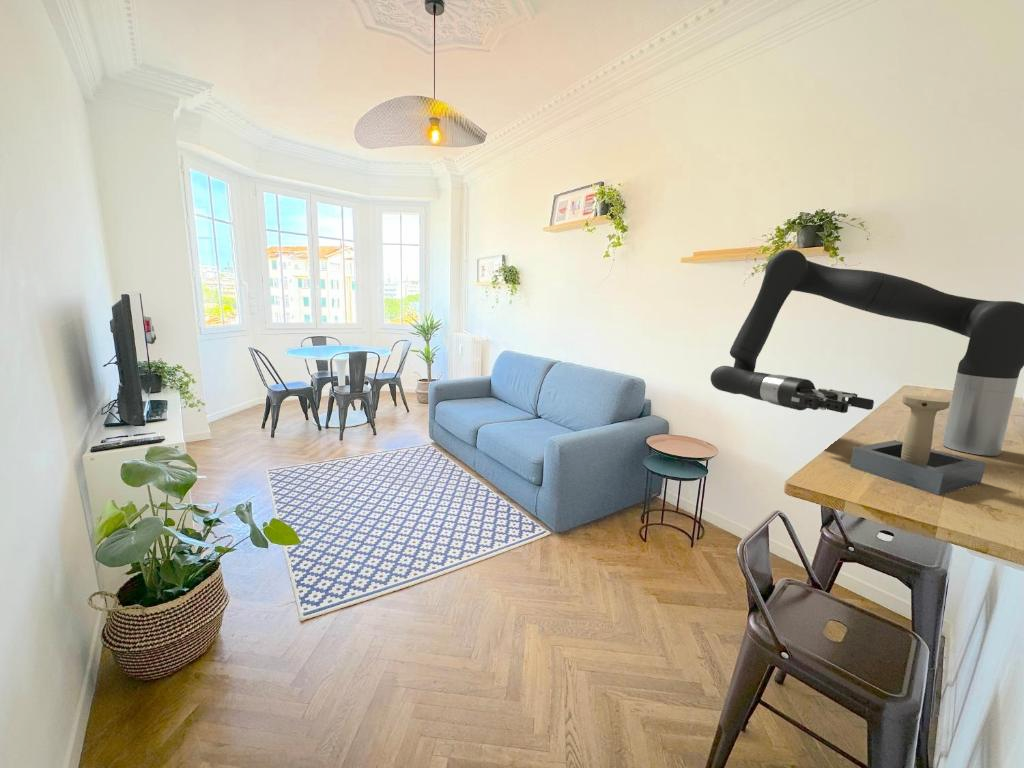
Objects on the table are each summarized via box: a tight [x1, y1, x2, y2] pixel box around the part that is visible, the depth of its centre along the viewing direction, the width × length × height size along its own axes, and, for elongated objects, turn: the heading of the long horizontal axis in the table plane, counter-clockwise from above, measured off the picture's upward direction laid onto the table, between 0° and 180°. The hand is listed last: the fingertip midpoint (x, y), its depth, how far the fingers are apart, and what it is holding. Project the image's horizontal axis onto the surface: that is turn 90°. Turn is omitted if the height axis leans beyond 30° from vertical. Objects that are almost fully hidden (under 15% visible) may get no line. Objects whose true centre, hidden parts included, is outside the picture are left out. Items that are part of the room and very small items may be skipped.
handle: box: [901, 394, 951, 465], centre depth 82 cm, size 5×6×15 cm
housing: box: [849, 439, 986, 496], centre depth 83 cm, size 14×14×4 cm
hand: (860, 406), depth 91 cm, fingers open, 8 cm apart
